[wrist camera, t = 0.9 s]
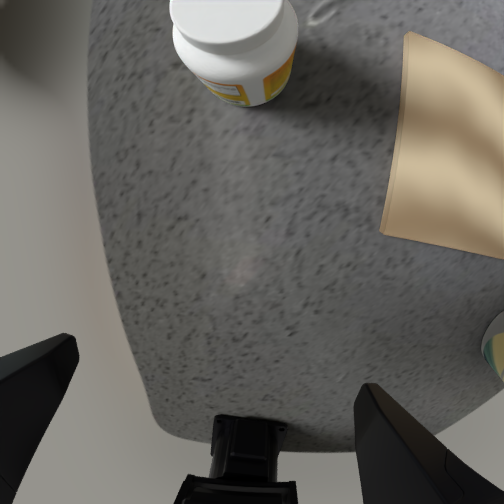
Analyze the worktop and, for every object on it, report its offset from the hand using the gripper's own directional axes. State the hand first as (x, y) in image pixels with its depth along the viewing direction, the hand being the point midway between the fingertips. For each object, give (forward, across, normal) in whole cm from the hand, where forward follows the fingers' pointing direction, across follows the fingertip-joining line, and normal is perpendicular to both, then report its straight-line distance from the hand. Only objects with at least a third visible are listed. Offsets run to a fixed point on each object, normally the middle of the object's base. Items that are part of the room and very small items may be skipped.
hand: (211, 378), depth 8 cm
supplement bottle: (+13, +1, -11) cm, 17 cm away
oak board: (+13, -15, -9) cm, 22 cm away
